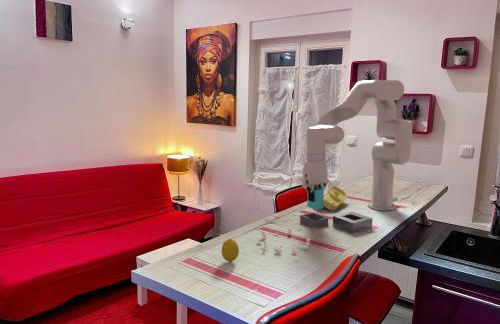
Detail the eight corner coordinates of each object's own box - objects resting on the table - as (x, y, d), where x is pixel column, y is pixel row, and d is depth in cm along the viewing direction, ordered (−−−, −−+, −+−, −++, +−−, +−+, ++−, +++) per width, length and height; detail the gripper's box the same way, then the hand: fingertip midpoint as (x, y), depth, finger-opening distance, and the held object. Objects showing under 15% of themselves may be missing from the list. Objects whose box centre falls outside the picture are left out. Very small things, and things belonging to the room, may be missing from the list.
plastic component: (336, 207, 171) (317, 195, 175) (329, 219, 174) (310, 207, 178) (349, 194, 188) (332, 183, 192) (343, 206, 191) (326, 195, 195)
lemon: (225, 267, 116) (224, 243, 115) (219, 260, 121) (219, 237, 120) (241, 264, 118) (241, 240, 117) (235, 257, 123) (234, 234, 122)
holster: (313, 218, 162) (313, 212, 161) (328, 224, 154) (328, 217, 154) (300, 221, 158) (300, 215, 158) (314, 228, 150) (314, 221, 150)
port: (351, 220, 159) (351, 211, 159) (371, 227, 150) (372, 218, 150) (332, 225, 154) (333, 215, 153) (352, 233, 145) (353, 223, 144)
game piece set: (246, 242, 137) (246, 232, 136) (287, 231, 148) (287, 222, 147) (280, 261, 121) (280, 249, 120) (323, 246, 133) (323, 236, 132)
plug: (314, 205, 159) (314, 183, 157) (323, 208, 154) (323, 186, 152) (307, 206, 157) (307, 184, 155) (316, 210, 152) (316, 187, 150)
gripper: (324, 153, 159) (324, 195, 162) (294, 158, 150) (294, 201, 154) (337, 156, 153) (336, 198, 156) (306, 160, 144) (305, 205, 147)
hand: (315, 199), depth 155 cm, fingers closed on plug, 4 cm apart
